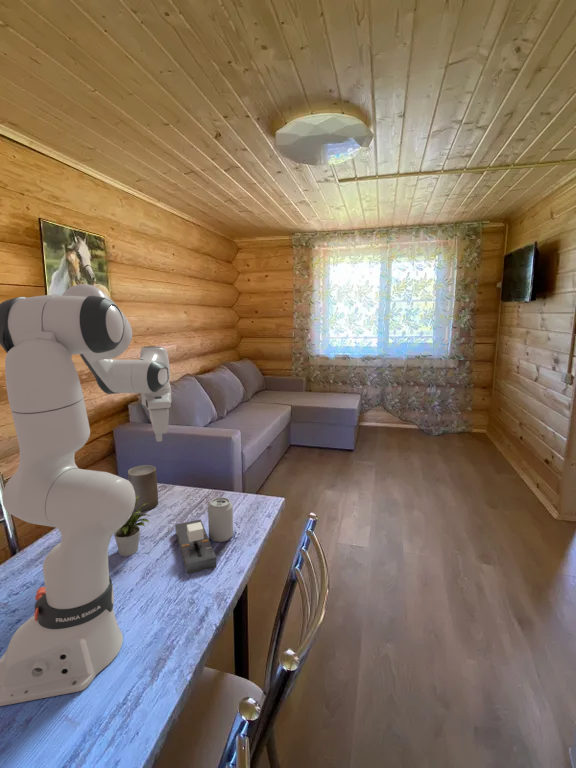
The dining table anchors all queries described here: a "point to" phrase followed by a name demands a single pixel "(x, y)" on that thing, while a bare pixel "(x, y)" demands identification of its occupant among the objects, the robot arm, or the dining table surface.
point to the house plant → (130, 533)
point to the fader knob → (195, 532)
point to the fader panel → (195, 550)
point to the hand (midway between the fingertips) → (159, 440)
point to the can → (220, 519)
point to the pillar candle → (144, 486)
